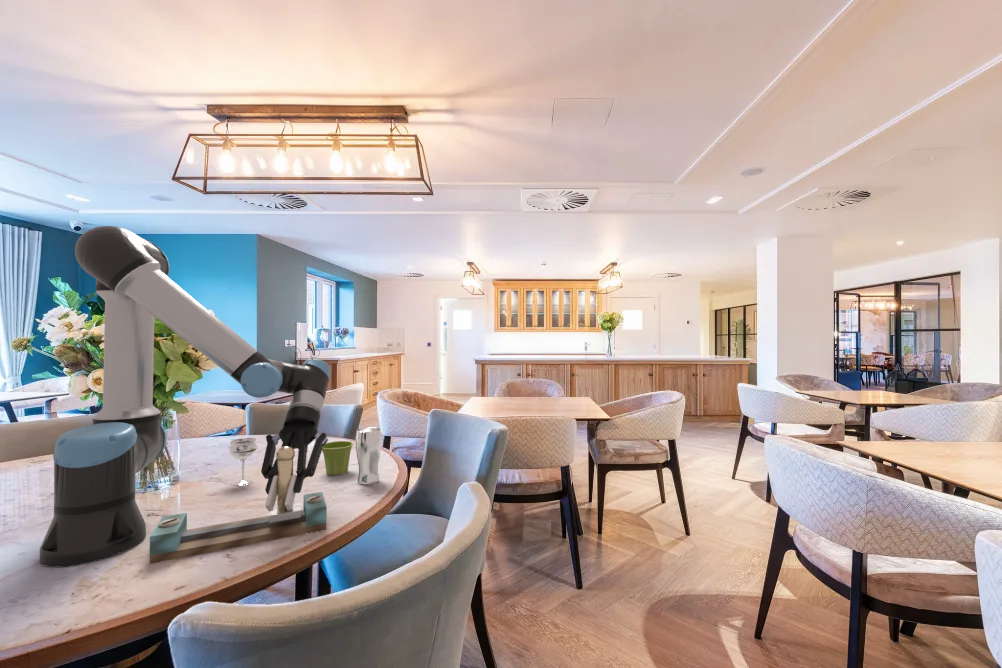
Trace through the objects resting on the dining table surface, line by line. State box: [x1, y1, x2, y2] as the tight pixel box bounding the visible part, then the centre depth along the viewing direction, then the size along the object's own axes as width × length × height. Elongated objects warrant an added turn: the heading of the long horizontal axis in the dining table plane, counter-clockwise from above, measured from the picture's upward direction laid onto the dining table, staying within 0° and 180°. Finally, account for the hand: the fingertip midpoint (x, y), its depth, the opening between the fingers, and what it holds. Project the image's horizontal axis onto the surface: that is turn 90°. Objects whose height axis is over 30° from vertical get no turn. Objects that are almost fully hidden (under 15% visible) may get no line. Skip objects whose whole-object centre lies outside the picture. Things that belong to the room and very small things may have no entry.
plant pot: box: [321, 440, 354, 476], centre depth 131 cm, size 9×9×9 cm
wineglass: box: [229, 437, 258, 486], centre depth 122 cm, size 7×7×12 cm
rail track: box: [148, 491, 328, 565], centre depth 89 cm, size 30×10×6 cm, turn 118°
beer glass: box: [355, 426, 382, 486], centre depth 123 cm, size 7×7×15 cm
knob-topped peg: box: [268, 446, 302, 523], centre depth 92 cm, size 6×5×15 cm
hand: (278, 507), depth 88 cm, fingers closed on knob-topped peg, 3 cm apart
